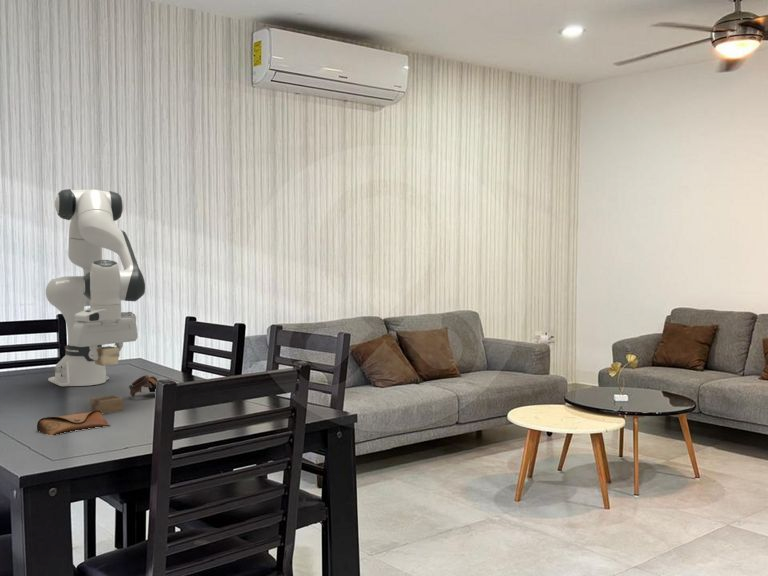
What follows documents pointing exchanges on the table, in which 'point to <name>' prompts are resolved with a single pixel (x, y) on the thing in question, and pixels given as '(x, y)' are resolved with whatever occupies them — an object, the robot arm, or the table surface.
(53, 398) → the table surface
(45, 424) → the sunglasses case
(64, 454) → the table surface
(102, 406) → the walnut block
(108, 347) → the beech block
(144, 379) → the brown piece
